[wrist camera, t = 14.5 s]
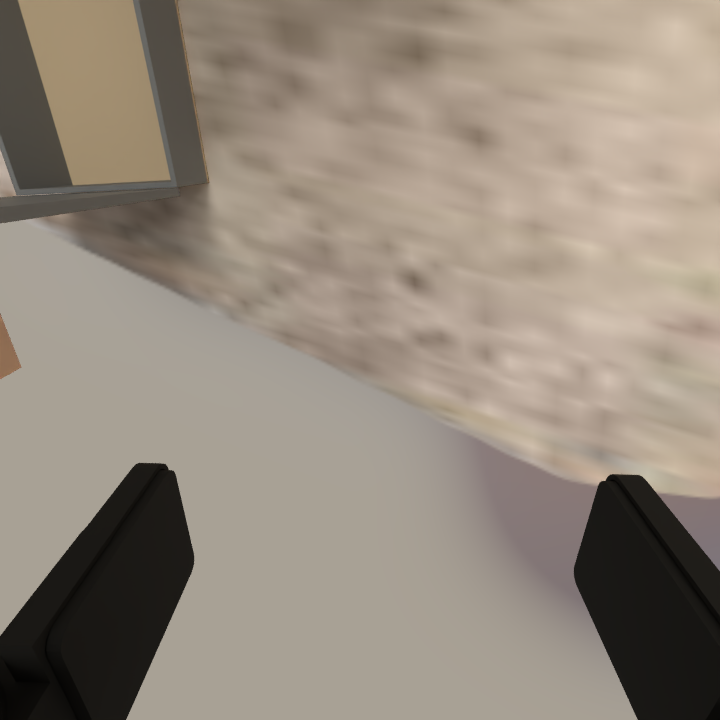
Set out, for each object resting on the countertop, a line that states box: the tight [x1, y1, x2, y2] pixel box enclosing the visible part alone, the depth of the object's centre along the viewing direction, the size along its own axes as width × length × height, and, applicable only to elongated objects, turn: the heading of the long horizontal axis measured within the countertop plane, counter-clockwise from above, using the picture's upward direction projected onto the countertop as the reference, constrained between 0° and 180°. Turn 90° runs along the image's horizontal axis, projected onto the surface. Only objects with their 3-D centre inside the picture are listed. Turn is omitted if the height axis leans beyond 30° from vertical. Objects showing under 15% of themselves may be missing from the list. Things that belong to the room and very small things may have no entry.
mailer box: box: [0, 0, 209, 195], centre depth 33 cm, size 20×13×7 cm, turn 3°
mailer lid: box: [0, 188, 180, 379], centre depth 26 cm, size 21×13×10 cm
